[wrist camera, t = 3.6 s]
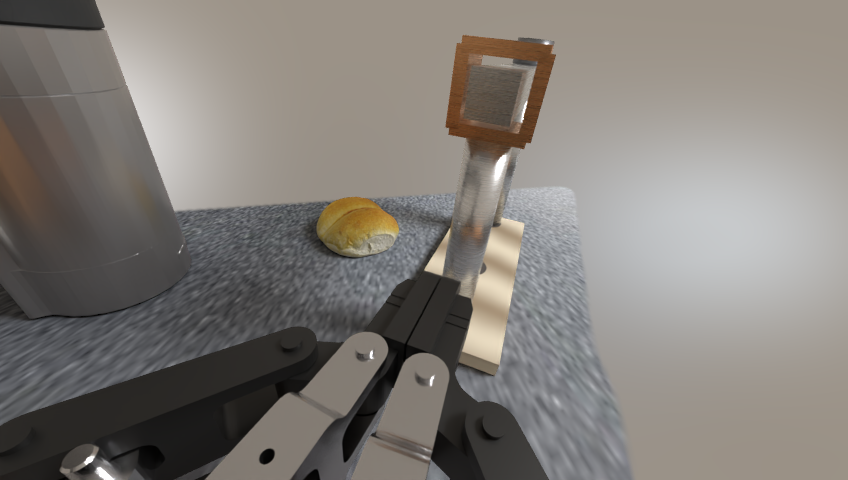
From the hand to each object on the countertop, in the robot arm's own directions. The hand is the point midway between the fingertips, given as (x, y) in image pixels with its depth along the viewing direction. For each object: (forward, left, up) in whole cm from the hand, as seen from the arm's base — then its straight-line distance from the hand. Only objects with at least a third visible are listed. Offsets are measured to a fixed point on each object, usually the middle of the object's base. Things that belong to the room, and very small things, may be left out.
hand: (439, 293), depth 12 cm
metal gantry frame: (+13, +9, -9) cm, 18 cm away
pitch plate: (+14, +10, -10) cm, 20 cm away
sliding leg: (+6, +4, -9) cm, 11 cm away
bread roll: (+6, +20, -11) cm, 24 cm away
